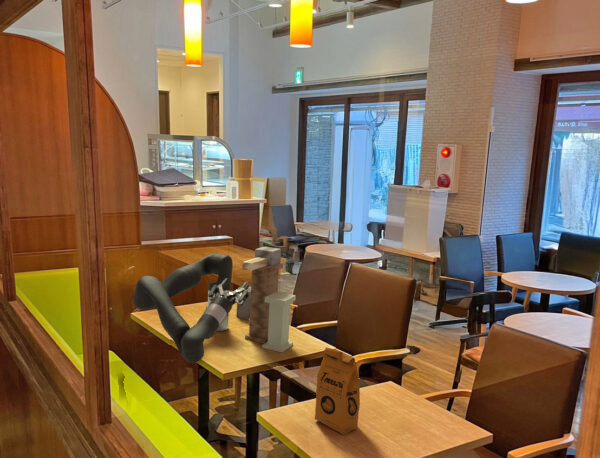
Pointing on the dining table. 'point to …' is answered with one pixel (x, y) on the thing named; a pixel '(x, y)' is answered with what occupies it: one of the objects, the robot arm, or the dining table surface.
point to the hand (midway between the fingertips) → (237, 281)
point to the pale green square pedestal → (279, 321)
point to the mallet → (263, 258)
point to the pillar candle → (244, 306)
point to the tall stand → (262, 301)
